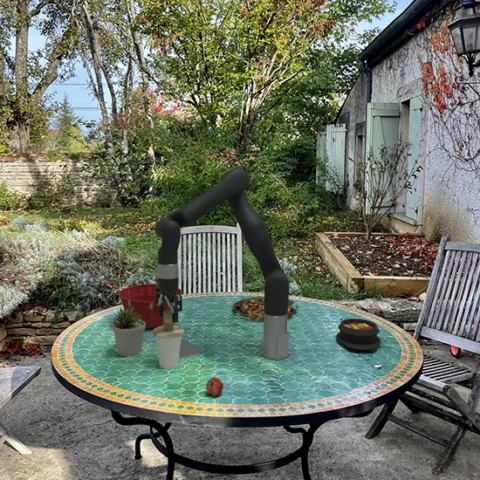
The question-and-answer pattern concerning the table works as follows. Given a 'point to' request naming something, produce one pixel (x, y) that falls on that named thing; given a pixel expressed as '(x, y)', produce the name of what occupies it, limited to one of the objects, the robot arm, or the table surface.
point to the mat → (188, 349)
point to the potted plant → (128, 333)
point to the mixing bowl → (144, 303)
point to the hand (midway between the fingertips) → (168, 319)
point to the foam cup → (168, 351)
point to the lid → (168, 327)
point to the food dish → (257, 308)
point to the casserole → (358, 334)
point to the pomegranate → (214, 386)
